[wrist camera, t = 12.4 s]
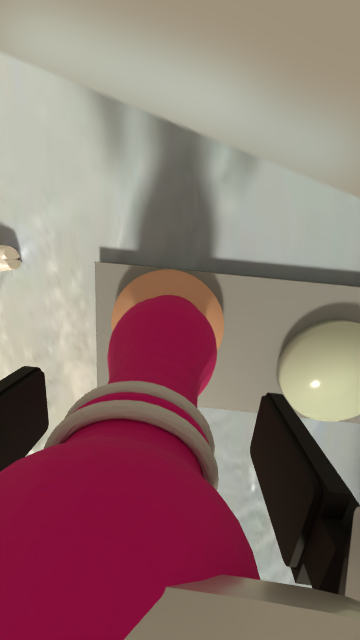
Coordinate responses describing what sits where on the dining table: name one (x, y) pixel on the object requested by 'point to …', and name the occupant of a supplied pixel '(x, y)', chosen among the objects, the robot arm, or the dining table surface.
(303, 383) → the pale green domed disc
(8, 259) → the sitting furry creature
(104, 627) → the pepper mill
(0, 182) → the dining table surface
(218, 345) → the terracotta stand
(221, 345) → the board
